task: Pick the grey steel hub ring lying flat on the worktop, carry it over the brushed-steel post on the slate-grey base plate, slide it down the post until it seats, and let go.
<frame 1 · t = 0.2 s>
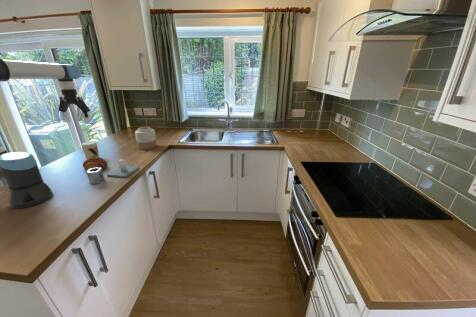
hand: (77, 122, 136), 28 cm above the worktop, fingers open, 13 cm apart
coffee cup: (93, 158, 151), on the worktop
pastry: (96, 169, 134), on the worktop
hub: (97, 180, 119), on the worktop
shaft block: (124, 172, 130), on the worktop
vase: (147, 147, 176), on the worktop
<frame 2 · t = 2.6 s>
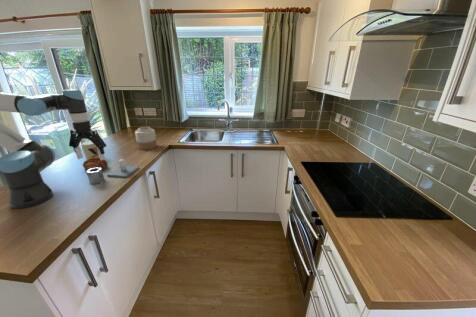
hand: (91, 159, 114), 14 cm above the worktop, fingers open, 13 cm apart
nothing on the worktop moved.
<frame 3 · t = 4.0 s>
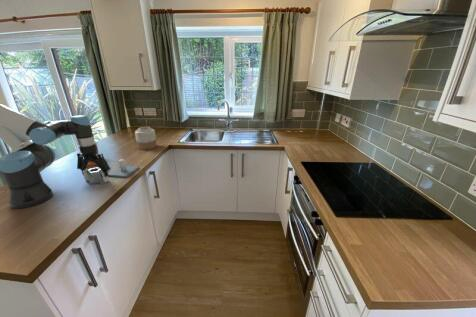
hand: (97, 180, 119), 0 cm above the worktop, fingers open, 11 cm apart
nothing on the worktop moved.
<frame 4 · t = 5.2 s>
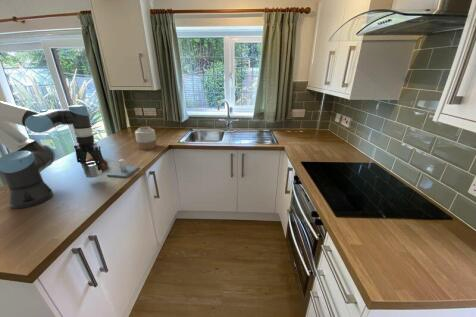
hand: (93, 174, 117), 4 cm above the worktop, fingers closed on hub, 7 cm apart
hub: (93, 174, 117), point 4 cm above the worktop, touching gripper
everything else where it was.
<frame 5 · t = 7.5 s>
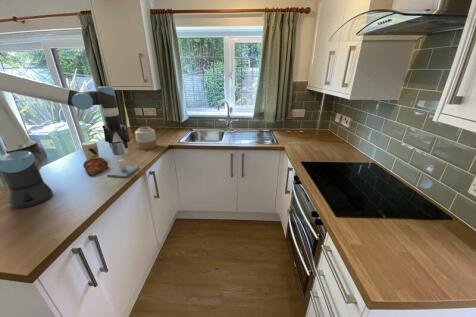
hand: (120, 152, 125), 13 cm above the worktop, fingers closed on hub, 7 cm apart
hub: (120, 153, 125), point 13 cm above the worktop, touching gripper
everything else where it was.
when the fingers open (2 cm above the worktop, at t = 9.8 s): hub stays where it is, resting on shaft block.
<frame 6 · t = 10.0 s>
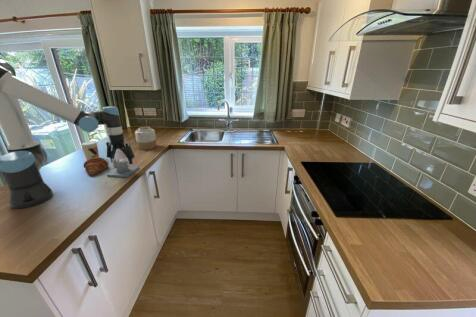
hand: (123, 168, 129), 3 cm above the worktop, fingers open, 9 cm apart
hub: (123, 170, 129), point 1 cm above the worktop, touching shaft block
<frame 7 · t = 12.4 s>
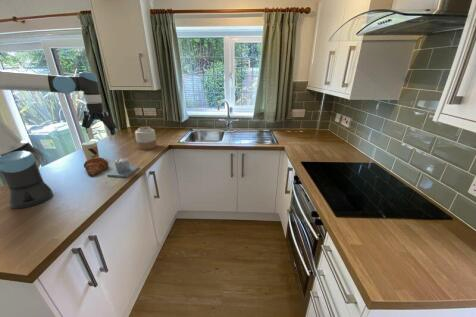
hand: (102, 139, 121), 22 cm above the worktop, fingers open, 13 cm apart
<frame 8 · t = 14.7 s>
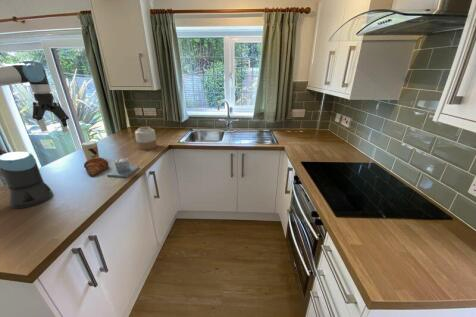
hand: (55, 131, 117), 27 cm above the worktop, fingers open, 13 cm apart
at the end: hub 0.1 cm off-centre on the shaft block, point 1.2 cm above the shaft block's base; hub tilted 0°; the gripper is holding nothing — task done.
